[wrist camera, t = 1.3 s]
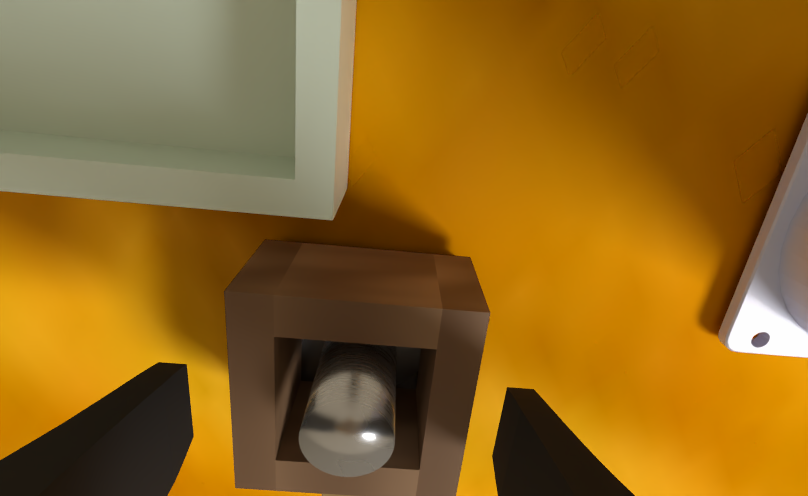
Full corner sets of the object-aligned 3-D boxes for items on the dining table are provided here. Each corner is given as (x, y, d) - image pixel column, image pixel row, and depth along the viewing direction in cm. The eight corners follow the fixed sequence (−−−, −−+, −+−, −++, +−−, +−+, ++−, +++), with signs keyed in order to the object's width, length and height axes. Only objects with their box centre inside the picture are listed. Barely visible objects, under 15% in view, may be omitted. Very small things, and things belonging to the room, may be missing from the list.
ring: (470, 257, 12) (490, 313, 10) (441, 437, 15) (450, 524, 12) (265, 239, 12) (224, 290, 9) (268, 425, 14) (236, 510, 12)
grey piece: (457, 257, 13) (484, 349, 9) (436, 399, 15) (449, 532, 11) (279, 242, 13) (219, 329, 8) (280, 388, 14) (230, 518, 10)
